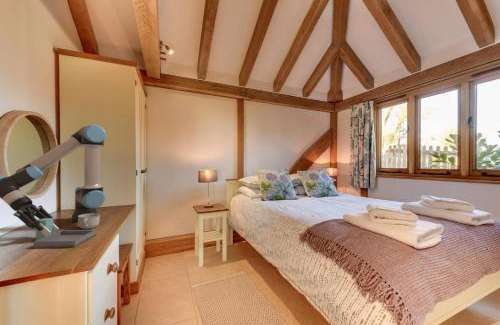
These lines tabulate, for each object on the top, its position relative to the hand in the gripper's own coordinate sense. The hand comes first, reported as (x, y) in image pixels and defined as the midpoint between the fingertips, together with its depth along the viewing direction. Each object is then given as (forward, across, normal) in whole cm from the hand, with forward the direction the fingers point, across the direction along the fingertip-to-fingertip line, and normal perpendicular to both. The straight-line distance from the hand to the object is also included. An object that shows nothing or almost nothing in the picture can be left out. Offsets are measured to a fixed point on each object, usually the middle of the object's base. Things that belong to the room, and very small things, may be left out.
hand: (52, 232), depth 108 cm
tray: (+10, +4, +5) cm, 11 cm away
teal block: (0, 0, -5) cm, 5 cm away
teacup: (+8, -16, +2) cm, 18 cm away
